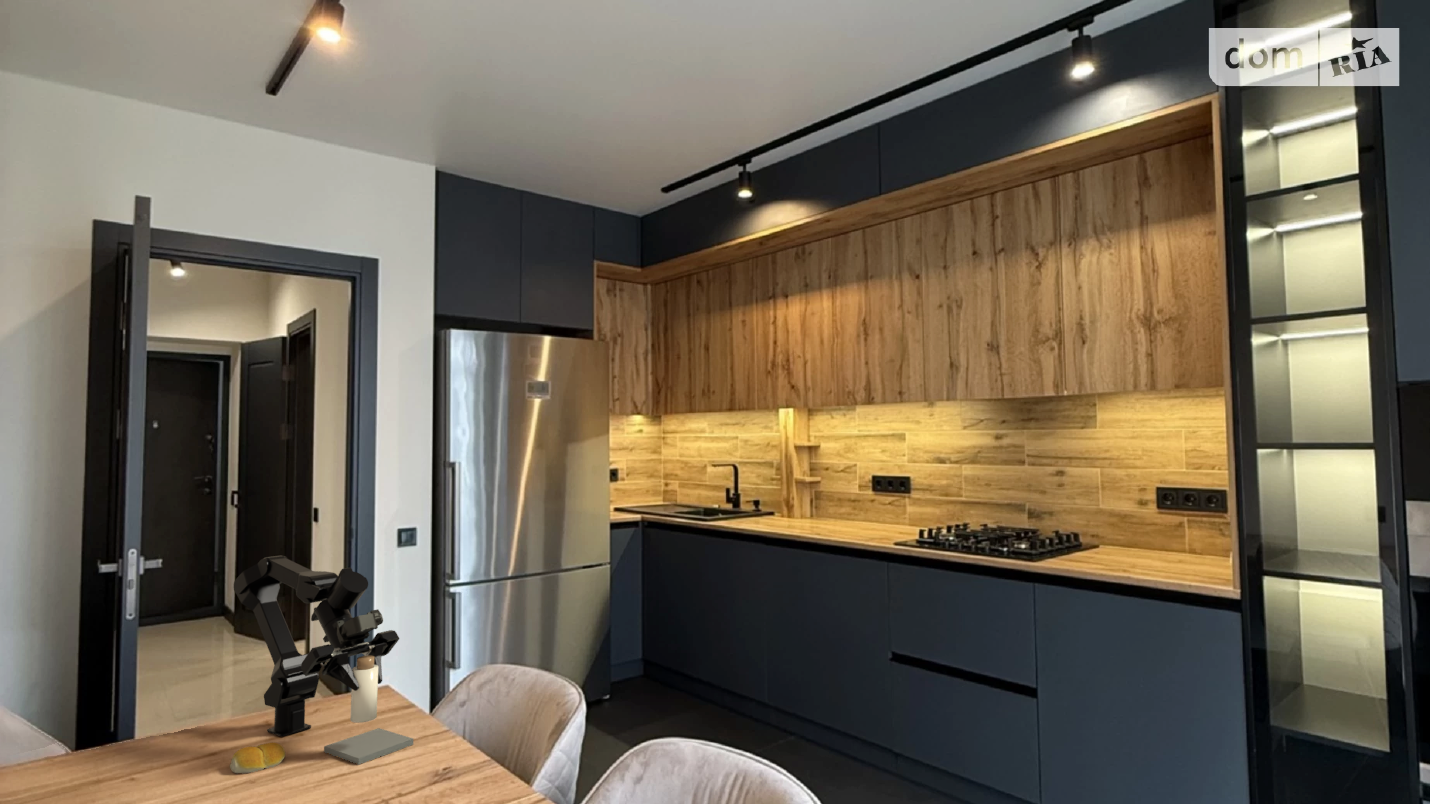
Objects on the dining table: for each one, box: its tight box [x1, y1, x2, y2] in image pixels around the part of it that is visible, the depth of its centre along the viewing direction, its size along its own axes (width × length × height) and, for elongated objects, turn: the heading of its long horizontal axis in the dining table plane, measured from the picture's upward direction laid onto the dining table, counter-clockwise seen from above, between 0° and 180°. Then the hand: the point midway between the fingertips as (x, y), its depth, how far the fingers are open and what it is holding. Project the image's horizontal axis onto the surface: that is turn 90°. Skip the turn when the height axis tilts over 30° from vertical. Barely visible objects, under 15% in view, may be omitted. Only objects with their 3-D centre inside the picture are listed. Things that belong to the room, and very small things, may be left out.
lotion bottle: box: [350, 655, 379, 724], centre depth 150 cm, size 5×5×12 cm
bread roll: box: [229, 742, 286, 774], centre depth 144 cm, size 8×9×4 cm
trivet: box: [323, 727, 414, 766], centre depth 152 cm, size 12×12×1 cm
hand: (369, 685), depth 150 cm, fingers closed on lotion bottle, 5 cm apart
